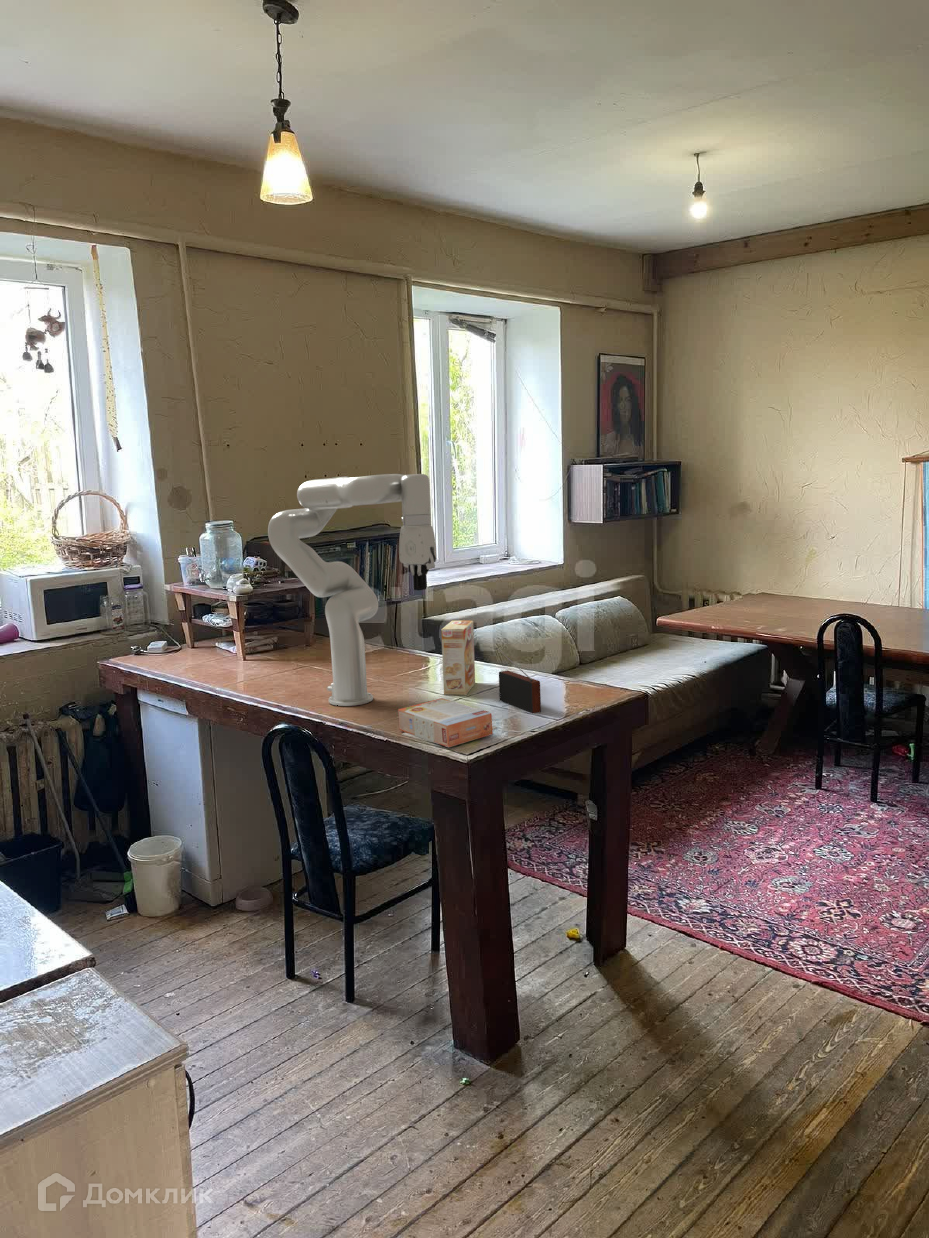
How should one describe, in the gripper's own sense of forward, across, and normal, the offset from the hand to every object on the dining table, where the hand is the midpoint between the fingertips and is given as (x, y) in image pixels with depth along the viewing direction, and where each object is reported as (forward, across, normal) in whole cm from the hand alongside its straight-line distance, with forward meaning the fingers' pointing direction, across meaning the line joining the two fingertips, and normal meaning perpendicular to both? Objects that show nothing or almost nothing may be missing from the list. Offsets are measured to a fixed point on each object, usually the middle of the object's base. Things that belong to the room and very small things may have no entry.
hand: (420, 589), depth 245 cm
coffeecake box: (+33, -7, +22) cm, 41 cm away
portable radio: (+33, +19, +17) cm, 42 cm away
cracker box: (+30, +10, -12) cm, 34 cm away
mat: (+33, +20, -12) cm, 40 cm away
